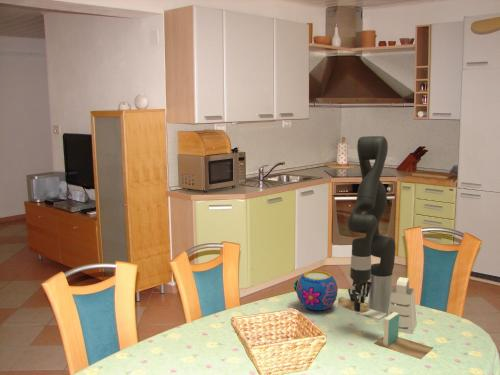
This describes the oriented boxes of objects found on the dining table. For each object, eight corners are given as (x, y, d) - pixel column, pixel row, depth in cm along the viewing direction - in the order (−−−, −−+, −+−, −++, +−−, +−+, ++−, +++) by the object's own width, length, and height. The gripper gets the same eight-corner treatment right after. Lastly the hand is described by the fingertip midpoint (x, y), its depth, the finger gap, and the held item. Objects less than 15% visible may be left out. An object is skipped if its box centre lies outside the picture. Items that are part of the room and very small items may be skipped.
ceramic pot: (314, 297, 241) (314, 265, 238) (345, 308, 228) (346, 275, 225) (287, 307, 229) (287, 274, 227) (319, 319, 216) (319, 284, 214)
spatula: (335, 307, 204) (335, 299, 204) (343, 303, 209) (344, 295, 208) (378, 320, 192) (379, 312, 192) (386, 315, 197) (387, 307, 196)
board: (387, 336, 201) (387, 333, 201) (433, 350, 189) (433, 347, 189) (373, 346, 193) (373, 343, 193) (420, 361, 181) (420, 359, 181)
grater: (384, 331, 205) (386, 282, 202) (390, 321, 214) (391, 274, 211) (412, 336, 200) (415, 286, 197) (416, 326, 210) (419, 277, 206)
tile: (393, 337, 198) (394, 311, 196) (398, 338, 196) (399, 313, 195) (383, 344, 192) (384, 318, 190) (388, 346, 190) (389, 320, 189)
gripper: (361, 260, 206) (359, 302, 209) (342, 268, 196) (340, 312, 198) (378, 264, 201) (376, 307, 204) (360, 272, 191) (358, 318, 193)
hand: (359, 310), depth 201 cm, fingers closed on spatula, 2 cm apart
